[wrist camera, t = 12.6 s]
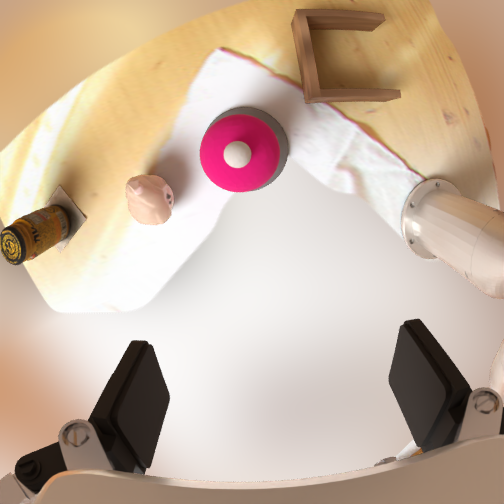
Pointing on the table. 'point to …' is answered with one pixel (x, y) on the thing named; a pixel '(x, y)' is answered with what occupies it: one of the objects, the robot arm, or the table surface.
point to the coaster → (276, 129)
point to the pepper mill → (239, 153)
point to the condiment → (41, 229)
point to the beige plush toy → (149, 199)
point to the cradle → (306, 59)
